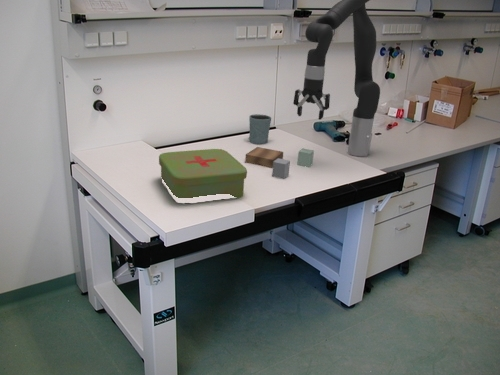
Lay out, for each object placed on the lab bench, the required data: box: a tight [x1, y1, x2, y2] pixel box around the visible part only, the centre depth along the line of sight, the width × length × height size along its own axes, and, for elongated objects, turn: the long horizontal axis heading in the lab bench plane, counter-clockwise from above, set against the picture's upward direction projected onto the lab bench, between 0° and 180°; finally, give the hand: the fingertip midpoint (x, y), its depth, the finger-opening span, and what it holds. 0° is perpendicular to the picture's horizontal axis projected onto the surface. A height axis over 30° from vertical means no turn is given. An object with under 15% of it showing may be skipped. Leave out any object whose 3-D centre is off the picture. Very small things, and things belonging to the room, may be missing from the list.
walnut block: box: [245, 146, 284, 169], centre depth 205 cm, size 12×12×4 cm
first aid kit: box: [158, 148, 248, 199], centre depth 174 cm, size 26×26×10 cm
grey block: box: [271, 158, 291, 180], centre depth 190 cm, size 5×5×6 cm
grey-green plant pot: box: [248, 113, 272, 145], centre depth 228 cm, size 10×10×12 cm
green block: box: [297, 148, 315, 168], centre depth 204 cm, size 5×5×6 cm
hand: (309, 117), depth 197 cm, fingers open, 8 cm apart
